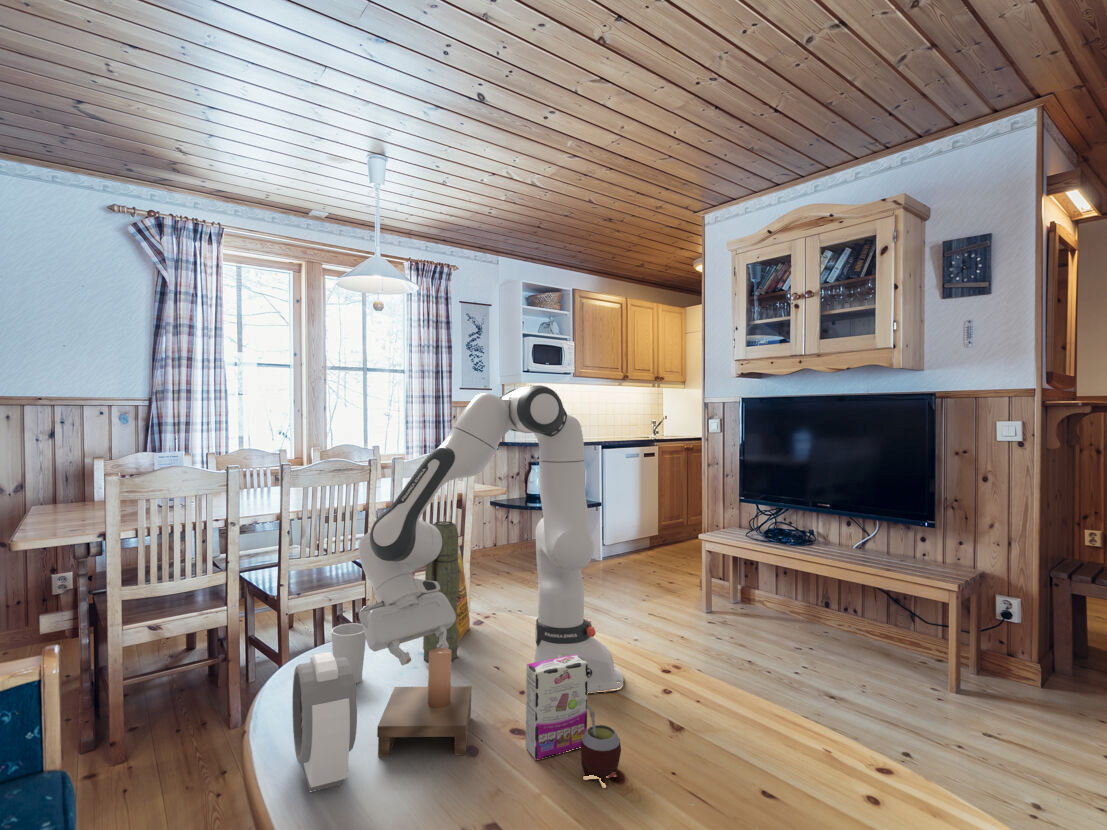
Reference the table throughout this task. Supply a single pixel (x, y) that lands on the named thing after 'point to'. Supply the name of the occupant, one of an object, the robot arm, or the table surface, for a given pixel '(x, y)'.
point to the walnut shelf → (425, 717)
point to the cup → (350, 646)
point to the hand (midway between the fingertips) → (426, 656)
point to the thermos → (445, 584)
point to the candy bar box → (556, 705)
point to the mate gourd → (599, 750)
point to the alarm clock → (324, 718)
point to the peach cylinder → (439, 677)
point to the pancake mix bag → (462, 601)
